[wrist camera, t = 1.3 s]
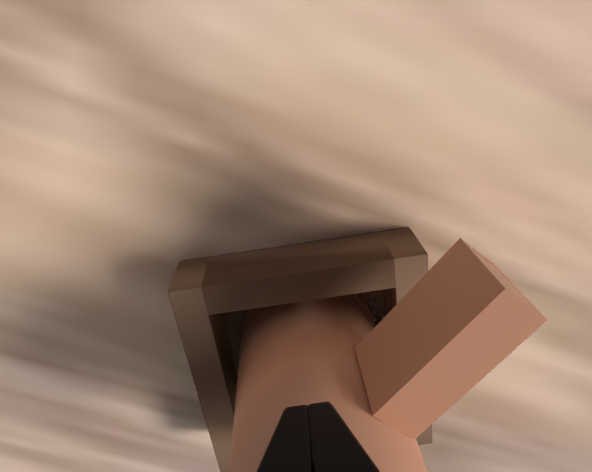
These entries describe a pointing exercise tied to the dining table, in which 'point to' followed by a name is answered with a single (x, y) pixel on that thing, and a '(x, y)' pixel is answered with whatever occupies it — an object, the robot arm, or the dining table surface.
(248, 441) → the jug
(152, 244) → the dining table surface
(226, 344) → the socket
